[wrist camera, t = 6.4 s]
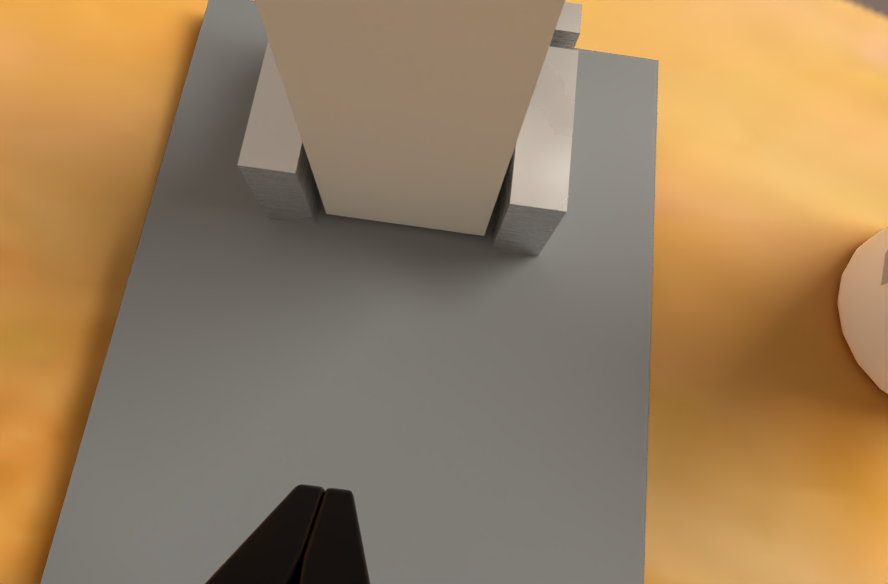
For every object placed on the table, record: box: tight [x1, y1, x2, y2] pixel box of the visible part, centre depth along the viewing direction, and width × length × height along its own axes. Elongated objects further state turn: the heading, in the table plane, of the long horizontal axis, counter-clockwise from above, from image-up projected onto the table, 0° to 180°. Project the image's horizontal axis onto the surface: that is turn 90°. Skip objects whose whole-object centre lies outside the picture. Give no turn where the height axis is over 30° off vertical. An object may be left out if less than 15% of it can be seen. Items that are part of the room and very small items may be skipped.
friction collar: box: [237, 2, 582, 256], centre depth 18 cm, size 7×9×4 cm
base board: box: [40, 0, 658, 584], centre depth 18 cm, size 20×16×1 cm
